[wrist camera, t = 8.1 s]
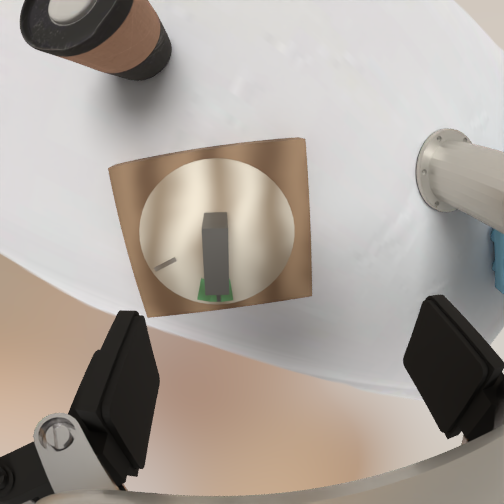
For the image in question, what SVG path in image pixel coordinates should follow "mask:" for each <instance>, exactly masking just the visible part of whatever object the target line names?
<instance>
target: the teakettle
mask: <svg viewBox="0 0 504 504" xmlns="http://www.w3.org/2000/svg"><path fill="white" fill-rule="evenodd" d="M491 240H492V241H493V242H494V248H495V261H494V263H493V266H492V269H493V271H495V287H496V288H497V289H498V290H499V291H501V292H502V293H503V294H504V234H502V233H501V232H499V231H497V230H495V229H494V228H493V231H492V233H491Z"/></svg>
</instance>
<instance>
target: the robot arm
mask: <svg viewBox="0 0 504 504" xmlns="http://www.w3.org/2000/svg"><path fill="white" fill-rule="evenodd" d="M416 175H417V183H418V187H419V190H420V193H421V195H422V197H423V199H424V200H425V202H426V203H427V204H428V205H429V206H431V207H432V208H434V209H436V210H438V211H440V212H453V211H455V210H458V209H459V210H460V211H462V212H464V213H466V214H468V215H470V216H472V217H474V218H476V219H477V220H479V221H481V222H483V223H485V224H487V225H488V226H490V227H492V228H494V229H495V230H497V231H499V232H501V233H502V234H504V152H502V151H499V150H495V149H491V148H487V147H483V146H479V145H475V144H472V142H471V141H470V140H469V138H468V137H467V136H466V135H465V134H463V133H462V132H460V131H458V130H454V129H440V130H438V131H436V132H434V133H433V134H432V135H431V136H429V138H428V139H427V140H426V141H425V143H424V145H423V146H422V148H421V151H420V154H419V156H418V161H417V171H416ZM403 363H404V366H405V368H406V370H407V372H408V373H409V375H410V377H411V379H412V380H413V382H414V384H415V385H416V387H417V389H418V391H419V393H420V394H421V396H422V398H423V400H424V401H425V403H426V405H427V407H428V409H429V410H430V412H431V414H432V416H433V418H434V420H435V422H436V423H437V425H438V427H439V429H440V431H441V432H444V433H445V435H446V437H447V439H449V438H451V437H454V436H456V435H459V434H460V432H461V431H462V432H463V434H464V435H463V440H462V444H461V446H459V447H456V448H454V449H452V450H450V451H447V452H445V453H442V454H440V455H437V456H435V457H432V458H429V459H427V460H424V461H421V462H418V463H415V464H413V465H409V466H407V467H403V468H400V469H397V470H394V471H390V472H387V473H384V474H380V475H376V476H372V477H368V478H364V479H360V480H357V481H352V482H348V483H343V484H337V485H332V486H327V487H321V488H315V489H309V490H302V491H294V492H286V493H276V494H266V495H265V494H264V495H249V496H185V495H183V496H182V495H168V494H157V493H144V492H132V491H128V490H127V489H126V487H125V486H124V484H123V483H125V482H126V477H127V475H129V476H136V477H137V476H138V470H139V469H143V468H144V465H145V460H146V453H147V447H148V441H149V436H150V431H151V425H152V420H153V414H154V409H155V404H156V398H157V394H158V389H159V383H160V380H159V379H160V378H159V373H158V369H157V366H156V362H155V359H154V355H153V351H152V347H151V343H150V339H149V335H148V331H147V326H146V322H145V318H144V316H140V315H139V313H138V312H137V311H119V312H118V314H117V316H116V318H115V320H114V322H113V324H112V326H111V328H110V330H109V333H108V334H107V337H106V339H105V341H104V343H103V345H102V348H101V350H97V351H96V352H95V353H94V355H93V357H92V359H91V361H90V364H89V366H88V368H87V370H86V372H85V375H84V377H83V379H82V381H81V384H80V386H79V388H78V391H77V393H76V395H75V398H74V400H73V403H72V405H71V408H70V410H69V413H68V414H65V413H54V414H50V415H48V416H46V417H44V418H43V419H42V420H41V421H40V422H39V423H38V424H37V426H36V428H35V430H34V436H33V437H34V442H32V443H30V444H27V445H25V446H23V447H21V448H19V449H17V450H15V451H13V452H11V453H9V454H6V455H4V456H2V457H0V504H504V374H503V373H502V370H503V369H504V362H503V361H502V359H501V358H500V357H499V356H498V355H497V354H496V352H495V351H494V350H493V349H492V348H491V346H490V345H489V344H488V343H487V342H486V341H485V340H484V338H483V337H482V336H481V335H480V334H479V333H478V332H477V331H476V329H475V328H474V327H473V326H472V325H471V324H470V323H469V322H468V321H467V320H466V318H465V317H464V316H463V315H462V314H461V313H460V312H459V311H458V310H457V309H456V308H455V307H454V306H453V305H452V304H451V303H450V302H449V301H448V299H447V298H446V297H445V296H443V295H433V296H428V297H427V298H426V300H425V301H423V303H422V305H421V308H420V312H419V315H418V318H417V321H416V324H415V327H414V330H413V333H412V336H411V338H410V341H409V344H408V347H407V349H406V352H405V355H404V358H403Z"/></svg>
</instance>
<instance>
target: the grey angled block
mask: <svg viewBox="0 0 504 504" xmlns="http://www.w3.org/2000/svg"><path fill="white" fill-rule="evenodd" d="M202 248H203V266H204V283H205V295H216V296H217V302H221V295H229V248H228V219H227V212H210V213H204V217H203V223H202Z"/></svg>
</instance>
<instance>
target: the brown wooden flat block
mask: <svg viewBox="0 0 504 504" xmlns="http://www.w3.org/2000/svg"><path fill="white" fill-rule="evenodd" d="M108 170H109V175H110V180H111V185H112V190H113V195H114V199H115V204H116V208H117V212H118V217H119V221H120V225H121V229H122V233H123V237H124V240H125V244H126V248H127V252H128V255H129V259H130V262H131V266H132V269H133V273H134V276H135V279H136V283H137V286H138V289H139V292H140V296H141V299H142V302H143V305H144V308H145V311H146V314H147V317H148V318H149V317H159V316H169V315H178V314H187V313H196V312H204V311H212V310H220V309H228V308H235V307H243V306H250V305H257V304H264V303H271V302H277V301H284V300H290V299H297V298H303V297H309V296H312V267H311V231H310V207H309V188H308V171H307V156H306V143H305V139H303V138H299V137H298V138H285V139H273V140H262V141H253V142H244V143H235V144H228V145H220V146H213V147H206V148H199V149H193V150H187V151H181V152H175V153H169V154H164V155H158V156H153V157H148V158H143V159H138V160H133V161H129V162H124V163H120V164H116V165H114V166H112V167H110V168H108ZM210 212H227V219H228V248H229V295H221V302H217V296H216V295H205V283H204V266H203V248H202V223H203V217H204V213H210Z"/></svg>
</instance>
